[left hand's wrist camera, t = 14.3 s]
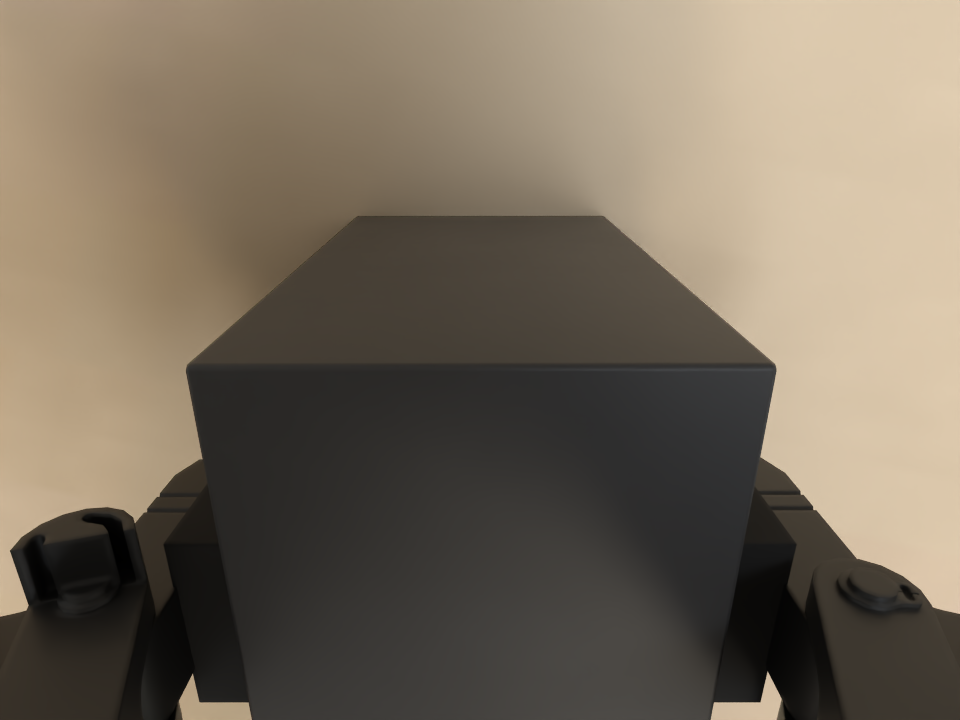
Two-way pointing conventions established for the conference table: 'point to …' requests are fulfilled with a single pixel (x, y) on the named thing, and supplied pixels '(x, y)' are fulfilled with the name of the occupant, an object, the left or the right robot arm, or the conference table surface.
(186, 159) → the conference table surface
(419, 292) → the box
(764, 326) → the conference table surface
